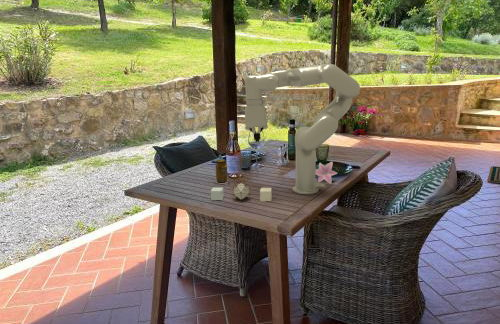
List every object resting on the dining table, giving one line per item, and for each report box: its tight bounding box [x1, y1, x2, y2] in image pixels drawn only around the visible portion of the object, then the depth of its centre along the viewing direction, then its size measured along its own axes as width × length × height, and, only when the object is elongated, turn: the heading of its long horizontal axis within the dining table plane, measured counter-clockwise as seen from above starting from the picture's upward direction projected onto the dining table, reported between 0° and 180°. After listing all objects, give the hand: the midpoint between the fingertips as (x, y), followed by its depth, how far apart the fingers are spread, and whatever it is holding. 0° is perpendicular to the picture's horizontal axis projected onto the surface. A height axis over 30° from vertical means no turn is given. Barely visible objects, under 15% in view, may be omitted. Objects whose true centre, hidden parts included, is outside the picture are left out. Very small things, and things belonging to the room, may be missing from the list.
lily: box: [315, 161, 338, 185], centre depth 207 cm, size 12×12×10 cm
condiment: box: [215, 159, 229, 184], centre depth 209 cm, size 7×8×12 cm
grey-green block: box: [210, 187, 225, 201], centre depth 185 cm, size 5×5×5 cm
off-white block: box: [259, 187, 273, 202], centre depth 183 cm, size 5×5×5 cm
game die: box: [232, 181, 251, 202], centre depth 184 cm, size 9×8×10 cm
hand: (257, 141), depth 186 cm, fingers closed
